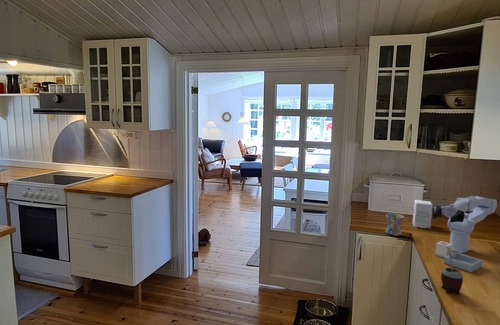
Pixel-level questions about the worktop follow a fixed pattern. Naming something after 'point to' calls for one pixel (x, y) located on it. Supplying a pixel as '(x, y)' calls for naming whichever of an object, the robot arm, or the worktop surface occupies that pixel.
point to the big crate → (463, 262)
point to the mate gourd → (451, 278)
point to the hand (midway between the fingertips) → (442, 218)
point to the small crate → (443, 249)
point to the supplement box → (422, 214)
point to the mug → (394, 224)
